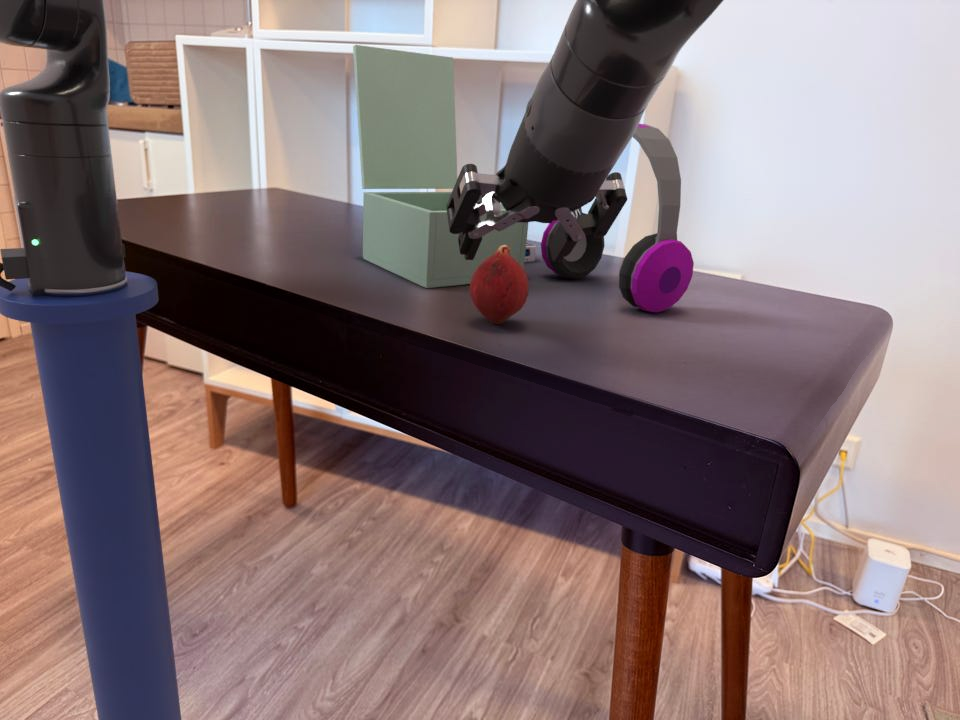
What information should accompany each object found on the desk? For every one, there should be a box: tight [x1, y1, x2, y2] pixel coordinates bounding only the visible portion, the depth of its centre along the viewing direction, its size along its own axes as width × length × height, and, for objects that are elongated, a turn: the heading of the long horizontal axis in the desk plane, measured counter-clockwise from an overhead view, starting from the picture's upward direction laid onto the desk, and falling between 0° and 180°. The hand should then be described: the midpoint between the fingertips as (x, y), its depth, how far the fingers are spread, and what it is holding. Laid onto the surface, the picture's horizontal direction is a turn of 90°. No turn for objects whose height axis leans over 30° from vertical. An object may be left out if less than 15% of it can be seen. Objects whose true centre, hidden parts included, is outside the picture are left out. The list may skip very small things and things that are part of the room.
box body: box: [362, 191, 529, 289], centre depth 87 cm, size 17×15×9 cm
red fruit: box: [469, 245, 530, 325], centre depth 66 cm, size 6×6×8 cm
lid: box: [352, 44, 458, 190], centre depth 91 cm, size 18×15×4 cm
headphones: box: [540, 123, 695, 313], centre depth 79 cm, size 21×9×20 cm, turn 28°
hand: (511, 252), depth 62 cm, fingers open, 8 cm apart
